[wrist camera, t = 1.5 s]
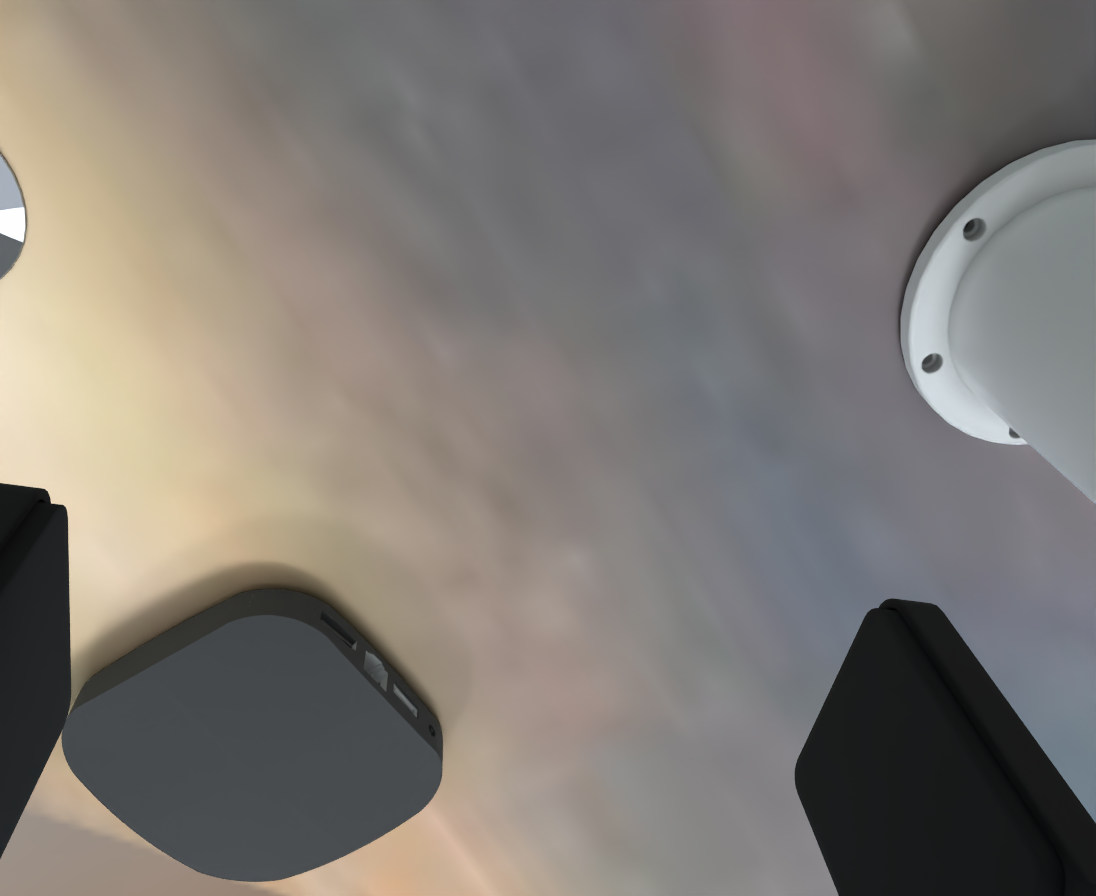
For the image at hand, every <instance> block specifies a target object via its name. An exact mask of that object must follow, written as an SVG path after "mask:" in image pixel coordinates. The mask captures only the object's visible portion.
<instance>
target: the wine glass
mask: <svg viewBox="0 0 1096 896" xmlns="http://www.w3.org/2000/svg"><path fill="white" fill-rule="evenodd" d="M26 229H27V219H26V207H25V203H24V199H23V195H22V191H21V189H20V186H19V184H18V182H17V179H16V177H15V175H14V173H13V171H12V170H11V168H10V166H9V165H8V163H7V162H6V160H5V158H4V157H3V155H2V154H1V153H0V280H1V279H2V278H3V277H4V276H5V275H6V274H7V273H8V272H9V271H10V270H11V269H12V267H13V266H14V264H15V263H16V261H17V259H18V258H19V256H20V254H21V251H22V248H23V245H24V242H25V236H26Z"/></svg>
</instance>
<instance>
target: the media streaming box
mask: <svg viewBox="0 0 1096 896" xmlns="http://www.w3.org/2000/svg"><path fill="white" fill-rule="evenodd" d="M62 747H63V752H64V755H65V758H66V760H67V763H68V765H69V767H70V768H71V770H72V772H73V773H74V775H75V776H76V777H77V778H78V779H79V780H80V781H81V782H82V783H83V785H84V786H85V787H86V788H87V789H88V790H89V791H90V792H91V793H92V794H93V795H94V796H95V797H96V798H97V799H98V800H99V801H100V802H101V803H102V804H103V805H104V806H105V807H106V808H107V809H109V810H110V811H111V812H112V813H113V814H114V815H115V816H116V817H117V818H119V819H120V820H121V821H122V822H123V823H125V824H126V825H127V826H128V827H129V828H131V829H132V830H133V831H134V832H136V833H137V834H138V835H140V836H141V837H142V838H144V839H145V840H146V841H148V842H149V843H151V844H152V845H154V846H155V847H156V848H158V849H159V850H161V851H162V852H164V853H166V854H167V855H169V856H170V857H172V858H174V859H175V860H177V861H179V862H181V863H182V864H184V865H186V866H188V867H190V868H192V869H194V870H196V871H198V872H200V873H203V874H206V875H209V876H213V877H217V878H222V879H228V880H235V881H247V882H263V881H275V880H282V879H285V878H288V877H292V876H295V875H298V874H301V873H304V872H307V871H309V870H312V869H315V868H317V867H320V866H322V865H325V864H327V863H330V862H332V861H334V860H337V859H339V858H341V857H343V856H345V855H347V854H349V853H351V852H353V851H355V850H357V849H359V848H361V847H363V846H365V845H367V844H369V843H371V842H372V841H374V840H376V839H378V838H379V837H381V836H383V835H385V834H386V833H388V832H390V831H391V830H393V829H395V828H396V827H398V826H399V825H401V824H402V823H404V822H405V821H407V820H408V819H410V818H411V817H413V816H414V815H416V814H417V813H419V812H420V811H421V810H422V809H423V808H424V807H425V806H426V805H427V804H428V803H429V802H430V800H431V799H432V798H433V796H434V795H435V793H436V791H437V789H438V787H439V785H440V782H441V778H442V759H443V737H442V732H441V729H440V726H439V724H438V722H437V720H436V719H435V718H434V717H433V715H432V714H431V713H430V712H429V710H428V709H427V708H426V707H425V706H424V704H423V703H422V702H421V701H420V700H419V698H418V697H417V696H416V695H415V694H414V693H413V691H412V690H411V689H410V688H409V687H408V686H407V684H406V683H405V682H404V681H403V680H402V679H401V678H400V677H399V675H398V674H397V673H396V672H395V671H394V670H393V669H392V668H391V667H390V666H389V665H388V663H387V662H386V661H385V660H384V659H383V658H382V657H381V656H380V655H379V654H378V653H377V652H376V651H375V650H374V649H373V648H372V647H371V646H370V645H369V644H368V643H367V642H366V641H365V640H364V639H363V637H362V636H361V635H359V634H358V633H357V632H356V631H355V630H354V629H353V628H352V627H351V626H350V625H349V624H348V623H347V622H346V621H345V620H344V619H343V618H342V617H341V616H340V615H339V614H338V613H337V612H336V611H335V610H334V609H333V608H332V607H330V606H328V605H327V604H325V603H324V602H322V601H320V600H318V599H316V598H314V597H311V596H308V595H306V594H303V593H299V592H295V591H290V590H282V589H260V590H253V591H248V592H244V593H240V594H238V595H236V596H233V597H231V598H229V599H227V600H225V601H223V602H221V603H219V604H217V605H215V606H213V607H211V608H209V609H207V610H205V611H203V612H202V613H200V614H198V615H196V616H194V617H192V618H190V619H188V620H186V621H185V622H183V623H181V624H179V625H177V626H175V627H173V628H172V629H170V630H168V631H166V632H165V633H163V634H161V635H159V636H157V637H156V638H154V639H152V640H151V641H149V642H147V643H145V644H144V645H142V646H140V647H139V648H137V649H135V650H134V651H132V652H130V653H129V654H127V655H125V656H124V657H122V658H121V659H119V660H117V661H116V662H114V663H113V664H111V665H110V666H108V667H106V668H105V669H103V670H102V671H100V672H99V673H97V674H96V675H94V676H93V677H91V678H90V679H89V680H88V681H87V682H86V684H85V685H84V686H83V688H82V690H81V691H80V693H79V695H78V697H77V699H76V701H75V703H74V705H73V707H72V709H71V711H70V713H69V715H68V717H67V719H66V722H65V725H64V727H63V731H62Z"/></svg>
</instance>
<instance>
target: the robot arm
mask: <svg viewBox="0 0 1096 896" xmlns="http://www.w3.org/2000/svg"><path fill="white" fill-rule="evenodd" d="M968 222H969V224H968V226H967V227H966V228H964V227H965V225H966V224H967V223H968ZM901 348H902V352H903V357H904V361H905V366H906V369H907V371H908V373H909V375H910V377H911V380H912V382H913V384H914V386H915V388H916V390H917V391H918V392H919V393H920V395H921V396H922V397H923V398H924V399H925V401H926V402H927V403H928V404H929V405H930V407H931V408H932V409H933V410H934V411H936V412H937V413H938V414H939V415H940V416H941V417H942V418H943V419H944V420H945V421H947V422H948V423H949V424H950V425H952V426H954V427H956V428H957V429H959V430H961V431H963V432H965V433H966V434H968V435H970V436H974V437H977V438H980V439H983V440H987V441H990V442H994V443H1002V444H1011V445H1022V444H1029V445H1030V446H1032V447H1033V448H1034V449H1035V450H1036V451H1037V452H1038V453H1039V454H1040V455H1042V456H1043V457H1044V458H1045V459H1046V460H1047V461H1048V462H1049V463H1050V464H1051V465H1053V466H1054V467H1055V468H1056V469H1057V470H1058V471H1059V472H1060V473H1061V474H1063V475H1064V476H1065V477H1066V478H1067V479H1068V480H1069V481H1070V482H1071V483H1073V484H1074V485H1075V486H1076V487H1077V488H1078V489H1079V490H1080V491H1081V492H1083V493H1084V494H1085V495H1086V496H1087V497H1088V498H1089V499H1090V500H1091V501H1092V502H1094V503H1095V504H1096V139H1093V140H1077V141H1071V142H1067V143H1063V144H1059V145H1055V146H1051V147H1047V148H1043V149H1041V150H1038V151H1036V152H1034V153H1032V154H1029V155H1027V156H1025V157H1023V158H1020V159H1018V160H1016V161H1014V162H1012V163H1010V164H1008V165H1007V166H1005V167H1004V168H1002V169H1001V170H999V171H998V172H996V173H995V174H993V175H991V176H990V177H988V178H987V179H985V180H984V181H982V182H981V183H980V184H979V185H978V186H977V187H975V188H974V189H973V190H972V191H971V192H970V193H969V194H968V195H967V196H965V197H964V198H963V199H962V200H961V201H960V202H959V203H958V204H956V205H955V207H954V208H953V209H952V210H951V212H950V213H949V214H948V215H947V216H946V218H945V219H944V220H943V221H942V222H941V224H940V225H939V226H938V227H937V229H936V230H935V231H934V232H933V234H932V236H931V237H930V239H929V241H928V243H927V244H926V246H925V248H924V249H923V251H922V253H921V254H920V256H919V258H918V259H917V262H916V264H915V267H914V270H913V272H912V275H911V277H910V280H909V282H908V285H907V288H906V292H905V297H904V302H903V307H902V312H901ZM926 356H927V357H926ZM925 357H926V358H925ZM70 701H71V657H70V606H69V555H68V516H67V510H66V507H65V506H63V505H58V504H51V501H50V496H49V494H48V492H47V491H46V490H45V489H41V488H33V487H26V486H18V485H10V484H2V483H0V858H1V856H2V854H3V852H4V850H5V848H6V846H7V843H8V842H9V840H10V838H11V835H12V833H13V831H14V829H15V827H16V825H17V823H18V821H19V819H20V817H21V815H22V813H23V811H24V808H25V806H26V804H27V802H28V800H29V798H30V796H31V794H32V792H33V790H34V788H35V786H36V784H37V781H38V779H39V777H40V775H41V773H42V771H43V769H44V767H45V765H46V763H47V761H48V759H49V757H50V754H51V752H52V750H53V748H54V746H55V744H56V742H57V740H58V738H59V736H60V734H61V732H62V729H63V727H64V725H65V722H66V719H67V715H68V711H69V707H70ZM795 785H796V789H797V793H798V795H799V798H800V800H801V803H802V805H803V808H804V810H805V813H806V815H807V818H808V820H809V822H810V825H811V827H812V830H813V832H814V835H815V837H816V840H817V842H818V845H819V847H820V850H821V852H822V855H823V857H824V860H825V862H826V865H827V867H828V870H829V872H830V875H831V877H832V880H833V882H834V885H835V887H836V889H837V892H838V894H839V896H1096V823H1095V822H1094V820H1093V819H1092V818H1091V816H1090V815H1089V813H1088V812H1087V811H1086V809H1085V808H1084V807H1083V805H1082V804H1081V802H1080V801H1079V800H1078V798H1077V797H1076V795H1075V794H1074V793H1073V791H1072V790H1071V789H1070V787H1069V786H1068V784H1067V783H1066V782H1065V780H1064V779H1063V777H1062V776H1061V775H1060V773H1059V772H1058V771H1057V769H1056V768H1055V766H1054V765H1053V764H1052V762H1051V761H1050V759H1049V758H1048V757H1047V755H1046V754H1045V753H1044V751H1043V750H1042V748H1041V747H1040V746H1039V744H1038V743H1037V741H1036V740H1035V739H1034V737H1033V736H1032V735H1031V733H1030V732H1029V730H1028V729H1027V728H1026V726H1025V725H1024V723H1023V722H1022V721H1021V719H1020V718H1019V716H1018V715H1017V714H1016V712H1015V711H1014V710H1013V708H1012V707H1011V705H1010V704H1009V703H1008V701H1007V700H1006V698H1005V697H1004V696H1003V694H1002V693H1001V692H1000V690H999V689H998V687H997V686H996V685H995V683H994V682H993V680H992V679H991V678H990V676H989V675H988V674H987V672H986V671H985V669H984V668H983V667H982V665H981V664H980V662H979V661H978V660H977V658H976V657H975V656H974V654H973V653H972V651H971V650H970V649H969V647H968V646H967V644H966V643H965V642H964V640H963V639H962V638H961V636H960V635H959V633H958V632H957V631H956V629H955V628H954V626H953V625H952V624H951V622H950V621H949V620H948V618H947V617H946V615H945V614H944V613H943V611H942V610H941V609H940V608H939V607H938V606H937V605H934V604H931V603H923V602H916V601H908V600H900V599H888V600H885V601H884V602H883V603H882V604H881V605H880V606H879V608H874V609H871V610H870V611H869V612H868V613H867V614H866V616H865V618H864V620H863V622H862V624H861V626H860V628H859V630H858V632H857V635H856V637H855V639H854V641H853V643H852V645H851V647H850V649H849V652H848V654H847V656H846V658H845V660H844V662H843V664H842V666H841V669H840V671H839V673H838V675H837V677H836V679H835V681H834V683H833V685H832V688H831V690H830V692H829V694H828V696H827V698H826V700H825V702H824V705H823V707H822V709H821V711H820V713H819V715H818V717H817V719H816V722H815V724H814V726H813V728H812V730H811V732H810V734H809V736H808V739H807V741H806V743H805V745H804V747H803V749H802V751H801V753H800V755H799V758H798V760H797V763H796V768H795Z"/></svg>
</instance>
